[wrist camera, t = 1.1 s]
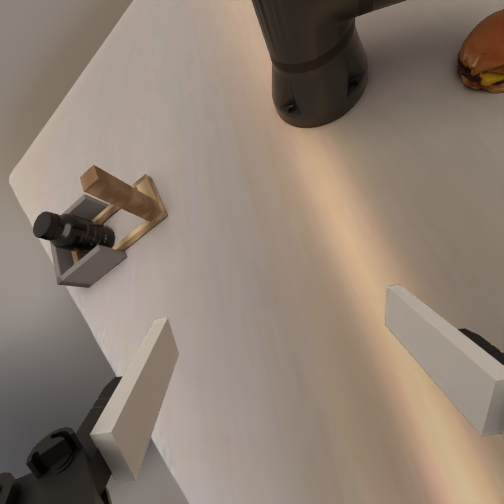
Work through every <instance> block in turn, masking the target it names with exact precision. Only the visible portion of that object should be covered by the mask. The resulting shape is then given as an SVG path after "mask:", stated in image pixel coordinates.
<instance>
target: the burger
mask: <svg viewBox="0 0 504 504" xmlns="http://www.w3.org/2000/svg"><path fill="white" fill-rule="evenodd" d="M458 56H459V57H458V66H457V68H458V70H457V73H458V75H461V77H462V80H463V82H464V84H466V85H468V86H470V87H471V88H473V89H481V88H484V89H485V90H487V91H488V92H491V93H501V92H504V9H503V10H500V11H498V12H495V13H493V14H491V15H490V16H488V17H487V18H485V19H484V20H483V21H481V22H480V23H479V24H478V25H477V26H476V27H475V28H474V29H473V30H472V32H471V33H470V34H469V36H468V37H467V38H466V40H465V41H464V43H463V46H462V48H461V51H460V52H459V55H458Z"/></svg>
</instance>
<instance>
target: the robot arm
mask: <svg viewBox="0 0 504 504" xmlns="http://www.w3.org/2000/svg"><path fill="white" fill-rule="evenodd" d="M403 1H406V0H252V3H253V6H254V9H255V12H256V15H257V18H258V21H259V24H260V27H261V30H262V33H263V36H264V39H265V42H266V45H267V48H268V51H269V54H270V57H271V61H272V97H273V101H274V104H275V107H276V109H277V112H278V114H279V115H280V117H281V118H282V119H283V120H284V121H285V122H287V123H289V124H291V125H293V126H297V127H316V126H321V125H324V124H327V123H329V122H332V121H334V120H336V119H337V118H339V117H341V116H342V115H344V114H345V113H346V112H347V111H349V110H350V109H351V108H352V107H353V106H354V105H355V104H356V102H357V101H358V100H359V98H360V97H361V95H362V93H363V91H364V88H365V85H366V80H367V58H366V55H365V52H364V49H363V46H362V44H361V41H360V38H359V36H358V33H357V30H356V27H355V17H357V16H360V15H363V14H366V13H369V12H372V11H375V10H378V9H381V8H384V7H387V6H390V5H393V4H397V3H400V2H403ZM385 326H386V327H387V328H388V329H389V330H390V332H391V333H392V334H393V335H394V336H395V337H396V339H397V340H398V341H399V342H400V343H401V344H402V345H403V347H404V348H405V349H406V350H407V351H408V352H409V353H410V355H411V356H412V357H413V358H414V359H415V360H416V362H417V363H418V364H419V365H420V366H421V367H422V368H423V370H424V371H425V372H426V373H427V374H428V375H429V377H430V378H431V379H432V380H433V381H434V382H435V383H436V385H437V386H438V387H439V388H440V389H441V390H442V392H443V393H444V394H445V395H446V396H447V397H448V398H449V400H450V401H451V402H452V403H453V404H454V405H455V407H456V408H457V409H458V410H459V411H460V412H461V413H462V415H463V416H464V417H465V418H466V419H467V420H468V421H469V423H470V424H471V425H472V426H473V427H474V428H475V430H476V431H477V432H478V433H479V434H480V435H481V436H486V435H494V434H502V432H503V429H504V353H501V352H500V350H499V349H497V348H496V347H494V346H493V345H491V344H490V343H489V342H488V341H486V340H485V339H484V338H482V337H481V336H479V335H478V334H475V333H473V332H471V331H469V330H467V329H465V328H464V329H456V328H455V327H454V326H452V325H451V324H450V323H449V322H447V321H446V320H445V319H443V318H442V317H441V316H440V315H438V314H437V313H436V312H434V311H433V310H432V309H431V308H429V307H428V306H427V305H425V304H424V303H423V302H422V301H420V300H419V299H418V298H417V297H415V296H414V295H413V294H411V293H410V292H409V291H408V290H406V289H405V288H404V287H402V286H401V285H393V286H387V292H386V312H385ZM178 355H179V352H178V349H177V346H176V342H175V339H174V336H173V333H172V330H171V326H170V323H169V320H168V318H161V319H155V321H154V322H153V324H152V326H151V328H150V329H149V331H148V333H147V335H146V336H145V338H144V340H143V342H142V344H141V345H140V347H139V349H138V351H137V352H136V354H135V356H134V358H133V359H132V361H131V363H130V365H129V366H128V368H127V370H126V372H125V373H124V375H123V376H122V377H115V378H114V379H113V380H112V381H111V382H110V383H108V385H106V387H105V388H104V389H103V391H102V392H101V394H100V396H99V397H98V400H97V401H96V402H95V404H94V406H93V408H92V409H91V410H90V412H89V413H88V415H87V417H86V418H85V420H84V421H83V423H82V425H81V426H80V428H79V430H78V431H77V433H76V434H75V433H74V431H73V429H72V428H68V427H66V428H61V429H58V430H56V431H54V432H52V433H50V434H49V435H47V436H46V437H45V438H43V439H42V440H41V441H40V442H39V443H38V444H37V445H36V446H35V447H34V448H33V450H32V451H31V453H30V455H29V456H28V459H27V463H26V464H27V466H28V467H29V468H30V470H31V471H32V473H30V474H28V475H25V476H23V477H21V478H19V479H15V478H14V477H13V476H12V474H11V473H1V474H0V504H112V502H111V499H110V495H109V491H108V489H107V487H106V485H107V482H108V480H109V478H110V475H111V474H112V476H113V478H114V480H115V482H116V483H121V482H129V481H135V480H136V479H137V476H138V473H139V470H140V467H141V464H142V461H143V458H144V455H145V452H146V449H147V446H148V443H149V440H150V438H151V435H152V432H153V429H154V426H155V423H156V420H157V417H158V414H159V411H160V408H161V405H162V402H163V399H164V396H165V394H166V391H167V388H168V385H169V382H170V379H171V376H172V373H173V370H174V367H175V364H176V361H177V358H178Z"/></svg>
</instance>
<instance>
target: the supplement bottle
mask: <svg viewBox="0 0 504 504" xmlns="http://www.w3.org/2000/svg"><path fill="white" fill-rule="evenodd" d="M33 233H34V235H35V236H36V237H38V238H42V239H45V240H50V242H51V243H52V244H53V245H54V246H55V247H57V248H61V249H66V250H70V251H75V252H79V253H84V254H88V253H89V252H90V251H91V250H93V249H94V248H95V247H96V246H97V245H101V246H105V247H109V248H112V246H113V243H114V233H113V231H112V230H111V229H110V228H109V227H107V226H104V225H102V224H99V223H96V222H93V221H90V220H87V219H85V218H82V217H79V216H76V215H73V214H69V213H67V214H62V215H58V214H53V213H50V212H47V211H46V212H43V213H41V214H40V215H39V216H38V217H37V219H36V221H35V223H34V227H33Z"/></svg>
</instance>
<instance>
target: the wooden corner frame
mask: <svg viewBox="0 0 504 504" xmlns="http://www.w3.org/2000/svg"><path fill="white" fill-rule="evenodd" d="M80 179H81V183H82V187H83V190H84V192H86V193H88V194H91V195H93V196H95V197H97V198H99V199H102V200H104V201H106V202H108V203H110V205H109V206H108V207H106V208H105V209H104V210H103V211H102V212H101V213H100V214H98V215H97V216H96V217H95V218H94V219H93V220H91V221H93V222H96V223H99V224H102V223H103V222H104V221H105V220H107V219H108V218H109V217H110V216H111V215H112V214H114V213H115V212H116V211H117V210H118V209H119V208H121V209H124V210H126V211H128V212H130V213H132V214H134V215H137V216H139V217H141V218H143V219H145V220H146V221H145V222H144V223H142V224H141V225H140V226H139V227H137V228H136V229H135V230H134V231H133V232H131V233H130V234H129V235H128V236H126V237H125V238H124V239H123V240H121V241H120V242H119V243H118V244H117V245H115V246H114V247H113V248H112V249H116V250H120V251H124V250H125V249H126V248H127V247H129V246H130V245H131V244H132V243H134V242H135V241H136V240H137V239H139V238H140V237H141V236H142V235H144V234H145V233H146V232H147V231H149V230H150V229H151V228H152V227H154V226H155V225H156V224H157V223H159V222H160V221H161V220H162V219H164V218H165V217H166V216H167V213H166V211H165V209H164V207H163V204H162V202H161V200H160V197H159V195H158V193H157V191H156V188H155V186H154V184H153V182H152V179H151V177H149V176H148V175H146V174H145V175H144V176H142V177H141V178H140V179H139V180H138V181H137V182H135V183H134V184H133V185H132V186H130V185H128V184H126V183H124V182H123V181H121V180H119V179H117V178H116V177H114V176H112V175H110V174H109V173H107V172H105V171H103V170H102V169H100V168H98V167H96V166H95V165H93V166H92V167H91V168H90V169H89V170H87V171H86V172H85V173H84V174H83V175H82V176H81V177H80ZM71 252H72V256H73V261H74V264H76V263H77V262H78V261H79V260H80V259H82V258H83V257H84V256H85V255H87V254H84V253H79V252H75V251H71Z"/></svg>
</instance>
